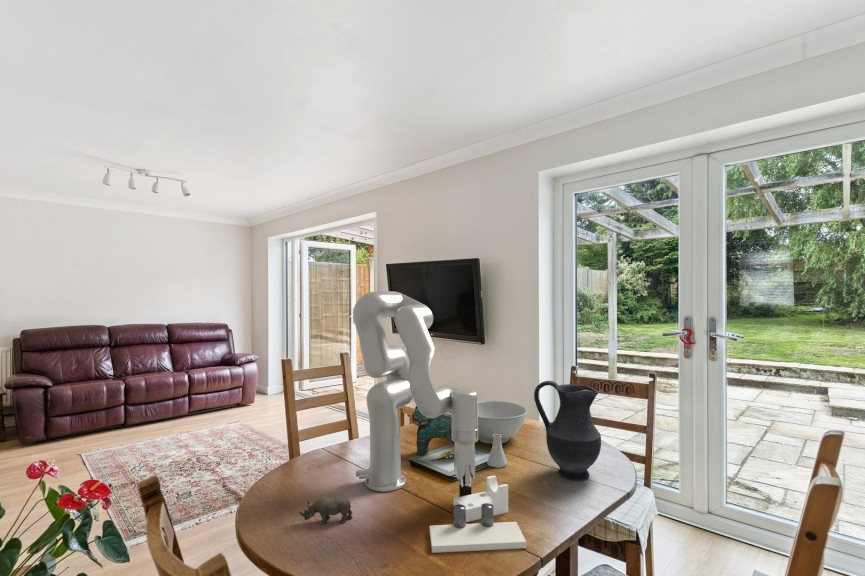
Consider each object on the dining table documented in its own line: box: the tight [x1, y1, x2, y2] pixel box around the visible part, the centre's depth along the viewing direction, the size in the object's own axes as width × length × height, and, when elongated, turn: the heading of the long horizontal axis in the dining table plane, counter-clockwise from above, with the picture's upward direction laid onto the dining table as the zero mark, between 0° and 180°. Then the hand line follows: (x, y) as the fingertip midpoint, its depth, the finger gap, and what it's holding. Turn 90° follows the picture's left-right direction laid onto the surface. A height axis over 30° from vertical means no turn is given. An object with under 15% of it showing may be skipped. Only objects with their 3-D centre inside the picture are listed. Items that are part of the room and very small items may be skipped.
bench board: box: [429, 521, 527, 554], centre depth 108 cm, size 22×9×2 cm, turn 94°
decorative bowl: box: [478, 400, 528, 445], centre depth 180 cm, size 27×27×12 cm
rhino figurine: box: [298, 497, 353, 526], centre depth 117 cm, size 4×14×6 cm, turn 95°
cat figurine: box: [411, 405, 455, 456], centre depth 163 cm, size 20×6×20 cm, turn 72°
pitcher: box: [533, 380, 602, 481], centre depth 146 cm, size 17×21×30 cm
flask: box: [486, 434, 509, 468], centre depth 154 cm, size 7×7×10 cm
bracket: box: [453, 475, 509, 523], centre depth 121 cm, size 13×7×8 cm, turn 113°
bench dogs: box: [453, 503, 494, 528], centre depth 112 cm, size 10×3×6 cm, turn 94°
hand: (465, 499), depth 126 cm, fingers closed
